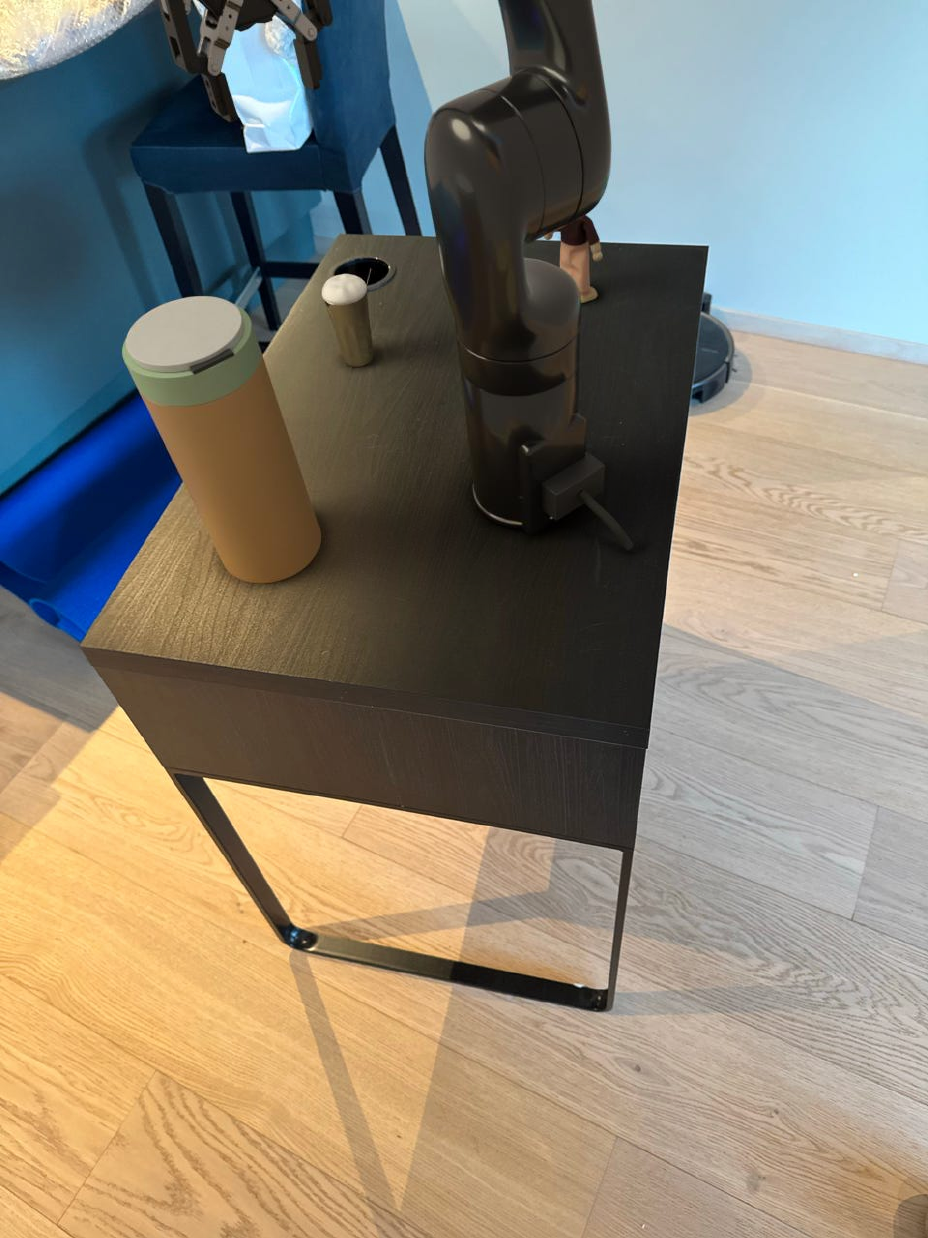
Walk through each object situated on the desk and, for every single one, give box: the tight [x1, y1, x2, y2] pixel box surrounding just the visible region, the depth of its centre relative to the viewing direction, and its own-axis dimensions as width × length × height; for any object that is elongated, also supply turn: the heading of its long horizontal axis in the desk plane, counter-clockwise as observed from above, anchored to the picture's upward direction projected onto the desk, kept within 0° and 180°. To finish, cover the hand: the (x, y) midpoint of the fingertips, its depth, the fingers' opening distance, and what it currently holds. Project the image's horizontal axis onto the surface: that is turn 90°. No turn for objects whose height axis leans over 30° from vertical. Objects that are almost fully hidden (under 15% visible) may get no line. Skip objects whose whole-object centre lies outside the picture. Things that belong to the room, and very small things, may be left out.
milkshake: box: [321, 268, 375, 368], centre depth 86 cm, size 5×5×10 cm
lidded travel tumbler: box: [121, 295, 322, 584], centre depth 66 cm, size 9×9×22 cm
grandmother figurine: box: [543, 214, 604, 304], centre depth 89 cm, size 8×4×13 cm, turn 58°
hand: (271, 102), depth 76 cm, fingers open, 8 cm apart
